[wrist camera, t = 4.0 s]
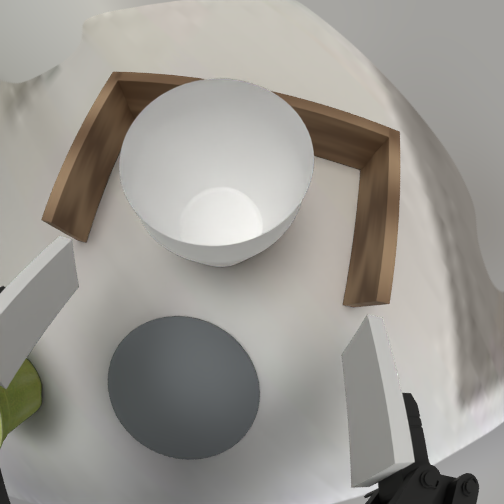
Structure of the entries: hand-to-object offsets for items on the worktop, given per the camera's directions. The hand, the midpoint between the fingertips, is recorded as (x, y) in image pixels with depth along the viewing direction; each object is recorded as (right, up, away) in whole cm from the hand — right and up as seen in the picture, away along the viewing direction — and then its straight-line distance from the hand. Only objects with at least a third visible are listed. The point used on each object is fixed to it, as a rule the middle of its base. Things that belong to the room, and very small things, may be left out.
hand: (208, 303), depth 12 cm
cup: (-1, +4, +12) cm, 13 cm away
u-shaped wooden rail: (0, +7, +12) cm, 14 cm away
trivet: (-4, -9, +9) cm, 13 cm away
